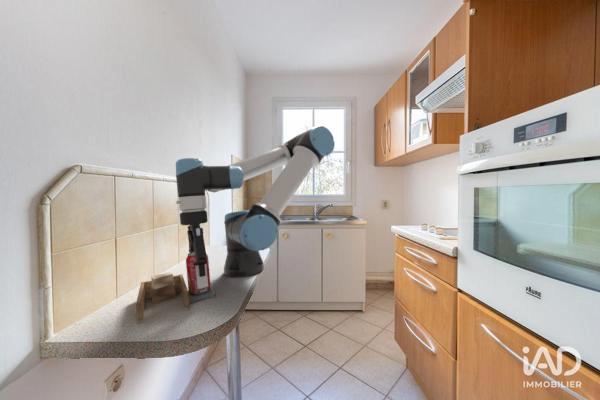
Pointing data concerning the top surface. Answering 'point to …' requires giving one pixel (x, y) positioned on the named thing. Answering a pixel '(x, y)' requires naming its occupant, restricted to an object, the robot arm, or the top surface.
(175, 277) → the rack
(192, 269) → the beverage can
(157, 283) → the birch offcut
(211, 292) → the mat
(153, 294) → the walnut offcut
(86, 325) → the top surface
